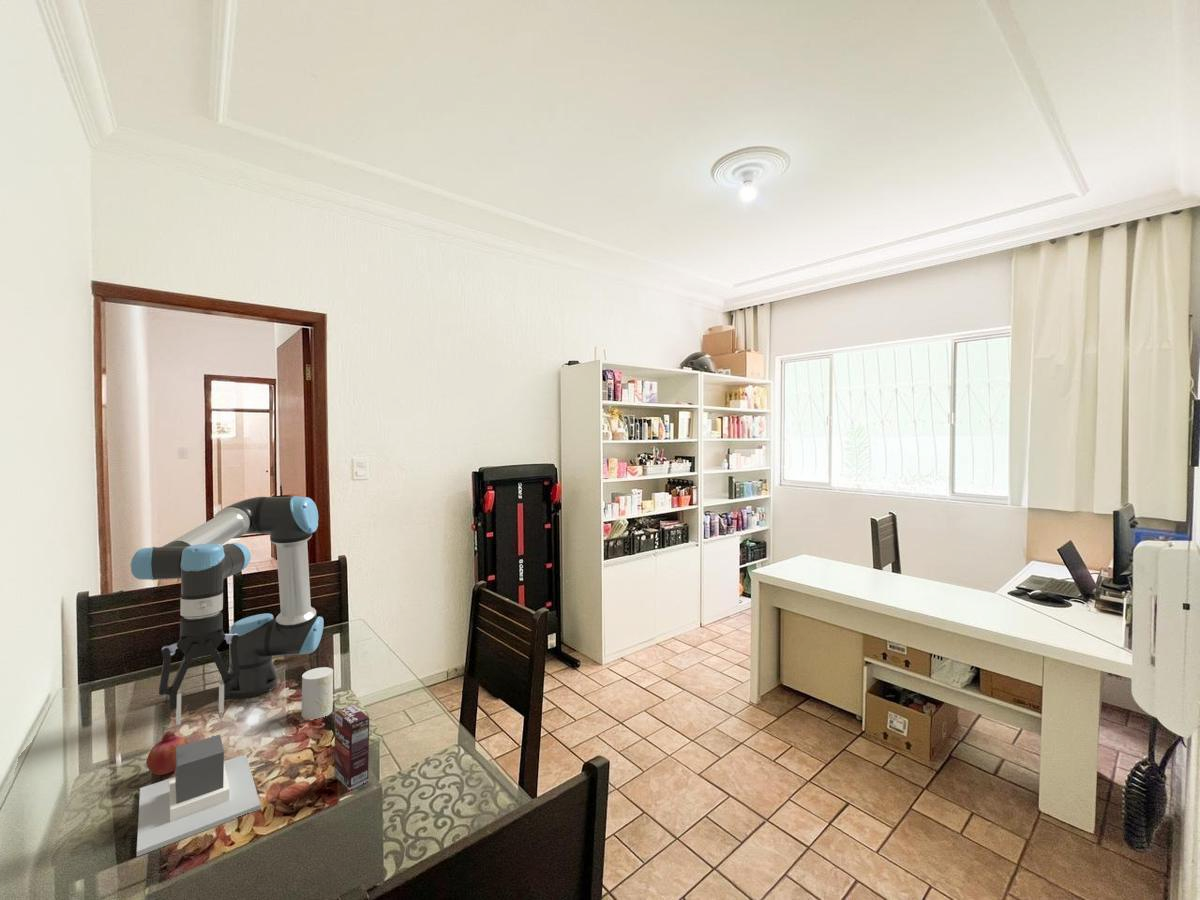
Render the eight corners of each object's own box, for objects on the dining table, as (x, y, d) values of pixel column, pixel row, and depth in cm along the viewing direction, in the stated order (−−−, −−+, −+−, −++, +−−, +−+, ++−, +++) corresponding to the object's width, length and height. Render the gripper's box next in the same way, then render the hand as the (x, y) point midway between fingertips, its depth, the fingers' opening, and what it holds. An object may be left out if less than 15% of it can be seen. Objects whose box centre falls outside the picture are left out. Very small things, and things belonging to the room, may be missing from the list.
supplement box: (332, 776, 121) (333, 711, 122) (353, 767, 125) (354, 703, 125) (348, 792, 116) (349, 723, 116) (369, 782, 120) (370, 715, 120)
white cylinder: (318, 721, 146) (319, 680, 146) (294, 718, 147) (295, 677, 147) (338, 707, 154) (339, 668, 154) (315, 704, 155) (316, 666, 155)
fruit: (139, 787, 117) (140, 744, 117) (154, 767, 124) (155, 726, 124) (183, 778, 120) (183, 737, 120) (194, 759, 127) (195, 720, 127)
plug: (175, 792, 113) (176, 747, 113) (219, 777, 119) (220, 734, 119) (176, 814, 107) (177, 766, 107) (223, 797, 112) (223, 751, 112)
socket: (140, 792, 115) (140, 777, 115) (246, 758, 128) (246, 744, 128) (136, 856, 97) (136, 838, 97) (260, 809, 110) (260, 793, 110)
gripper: (142, 628, 103) (140, 739, 103) (257, 609, 116) (255, 708, 116) (143, 618, 109) (141, 724, 109) (252, 601, 122) (251, 696, 122)
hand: (200, 716), depth 113 cm, fingers open, 7 cm apart
